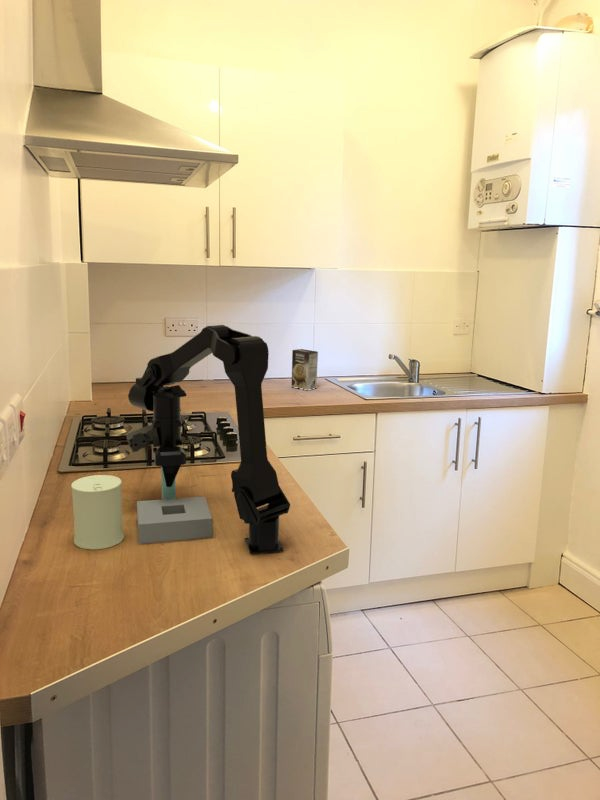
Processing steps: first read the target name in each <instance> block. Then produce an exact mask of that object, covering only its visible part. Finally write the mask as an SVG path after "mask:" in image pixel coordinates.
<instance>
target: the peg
mask: <svg viewBox="0 0 600 800" xmlns="http://www.w3.org/2000/svg"><path fill="white" fill-rule="evenodd" d="M160 470H161V471H160V472H161V473H160V474H161V477H160V478H161V500H162V499H176V498H177V495H176V494H177V493H176V492H177V490H176V489H177V488H176V487H177V486H176V485H177V483H176V479H175V480H174V482H173V485H172V486H171V487H167V486H166V482H165V477H164V473H163V469H162V466H160Z"/></svg>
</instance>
